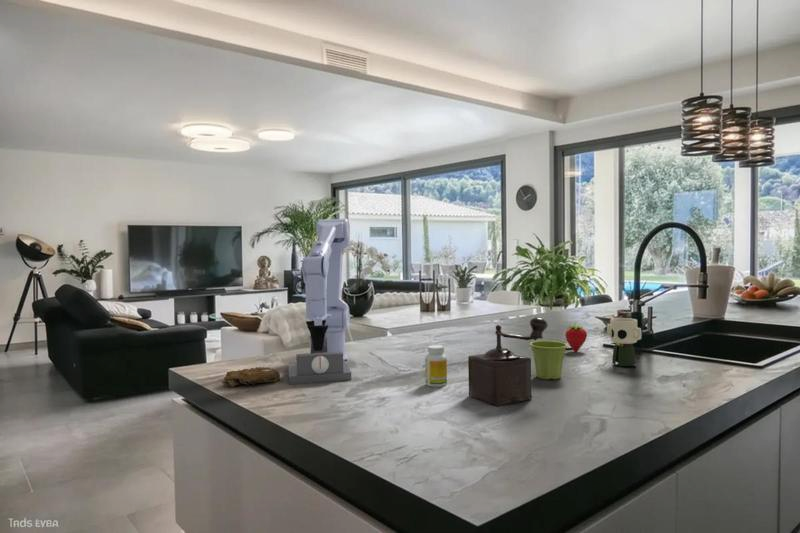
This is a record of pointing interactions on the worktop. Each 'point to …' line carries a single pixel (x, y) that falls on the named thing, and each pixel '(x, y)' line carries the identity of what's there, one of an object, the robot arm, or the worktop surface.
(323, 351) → the block
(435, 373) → the supplement bottle
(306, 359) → the scale
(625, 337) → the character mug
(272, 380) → the decorative rock
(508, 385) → the manual coffee grinder
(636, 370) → the worktop surface
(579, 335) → the strawberry
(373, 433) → the worktop surface
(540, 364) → the plant pot
